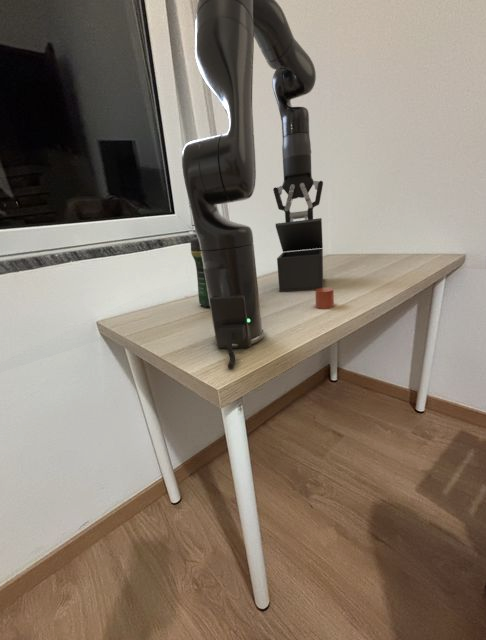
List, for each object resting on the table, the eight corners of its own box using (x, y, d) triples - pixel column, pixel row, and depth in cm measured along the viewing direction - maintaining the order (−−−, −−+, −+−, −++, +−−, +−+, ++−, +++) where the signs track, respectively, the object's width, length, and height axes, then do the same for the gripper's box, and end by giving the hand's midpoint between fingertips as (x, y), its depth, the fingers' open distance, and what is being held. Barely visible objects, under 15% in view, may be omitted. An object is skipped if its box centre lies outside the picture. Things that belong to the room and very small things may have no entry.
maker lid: (321, 220, 83) (321, 204, 84) (275, 226, 86) (275, 210, 87) (322, 248, 97) (322, 233, 98) (282, 251, 100) (283, 238, 101)
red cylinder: (334, 308, 71) (333, 291, 69) (315, 309, 72) (314, 292, 70) (333, 303, 75) (333, 287, 73) (316, 304, 76) (315, 288, 74)
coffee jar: (209, 309, 83) (197, 237, 75) (196, 305, 89) (183, 237, 82) (238, 301, 88) (230, 232, 80) (224, 297, 94) (215, 233, 86)
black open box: (322, 289, 89) (322, 254, 85) (279, 291, 92) (276, 258, 88) (323, 279, 101) (322, 248, 97) (284, 282, 104) (282, 252, 100)
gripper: (268, 158, 81) (272, 227, 87) (324, 148, 77) (324, 221, 83) (272, 163, 88) (276, 226, 94) (324, 154, 84) (325, 221, 90)
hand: (299, 224), depth 89 cm, fingers closed on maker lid, 5 cm apart
